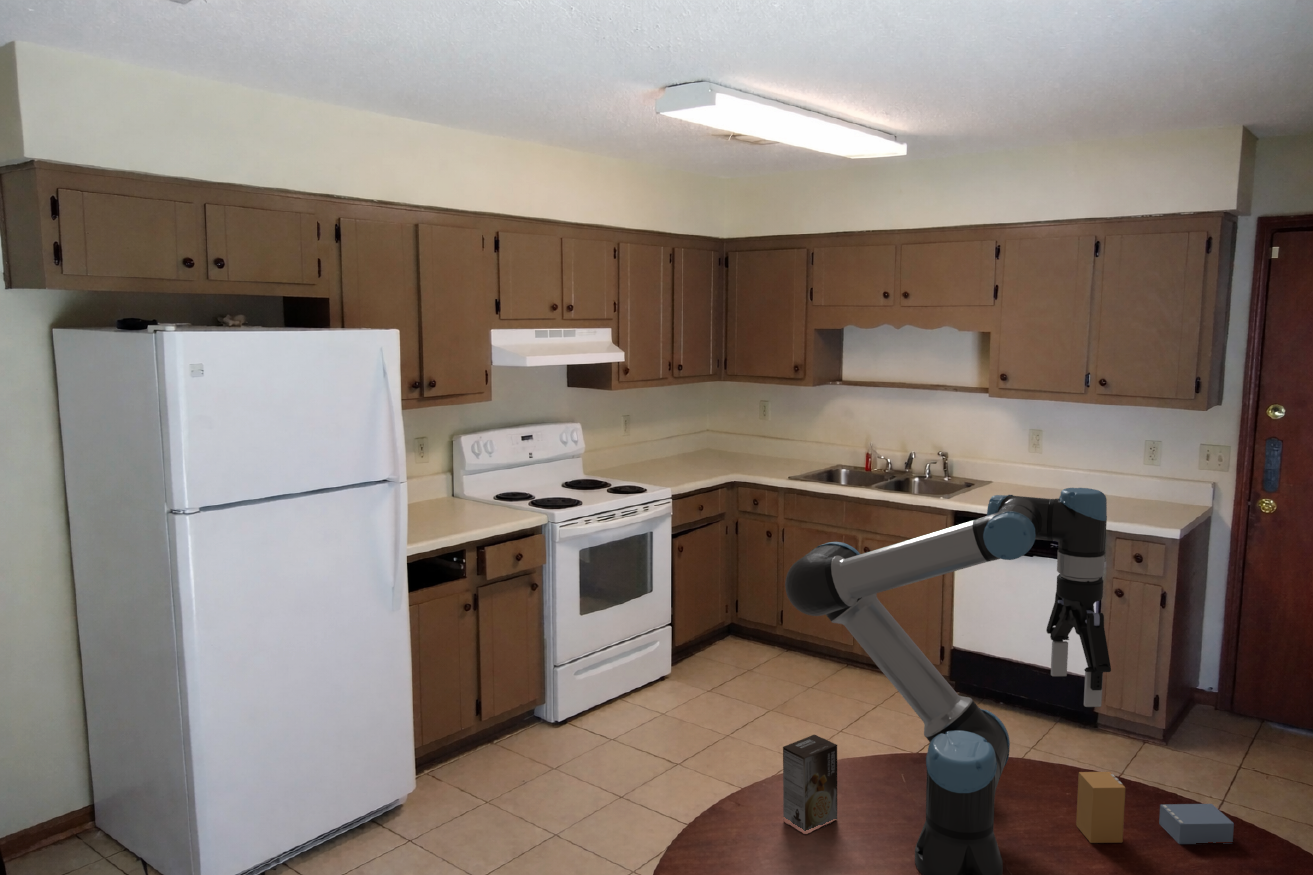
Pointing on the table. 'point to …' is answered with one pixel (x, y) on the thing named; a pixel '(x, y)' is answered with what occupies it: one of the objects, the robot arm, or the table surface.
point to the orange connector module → (1100, 807)
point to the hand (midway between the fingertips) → (1074, 690)
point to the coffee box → (810, 782)
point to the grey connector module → (1196, 823)
